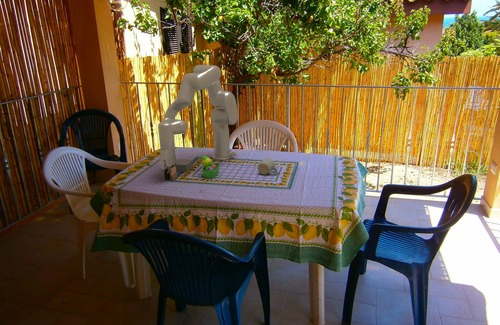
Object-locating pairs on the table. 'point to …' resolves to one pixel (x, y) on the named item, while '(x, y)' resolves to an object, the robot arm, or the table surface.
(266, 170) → the ceramic mug
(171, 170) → the terracotta block
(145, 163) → the table surface
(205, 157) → the green bird basket
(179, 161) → the charcoal base
